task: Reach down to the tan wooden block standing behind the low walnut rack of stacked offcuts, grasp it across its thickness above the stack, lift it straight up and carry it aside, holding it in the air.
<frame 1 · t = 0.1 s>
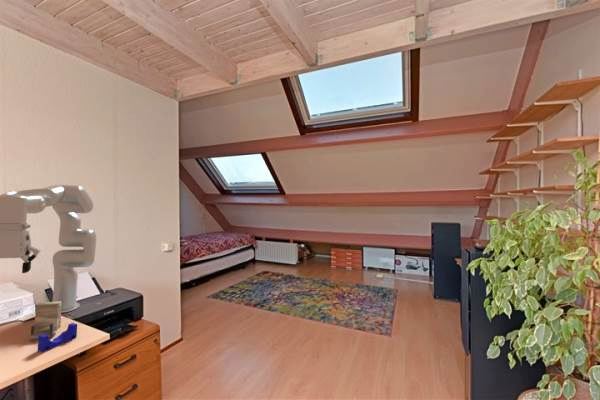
hand: (9, 272, 100), 31 cm above the table, tool pointing down, fingers open, 9 cm apart
blue cradle stand: (56, 344, 110), on the table
tan wooden block: (47, 329, 120), on the table
offcut rack: (42, 337, 113), on the table
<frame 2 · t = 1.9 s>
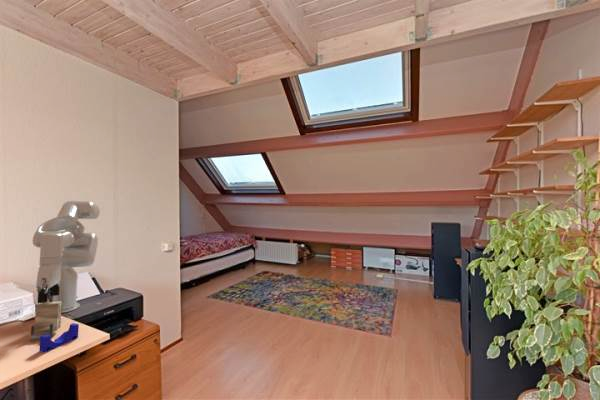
hand: (48, 298, 120), 14 cm above the table, tool pointing down, fingers open, 9 cm apart
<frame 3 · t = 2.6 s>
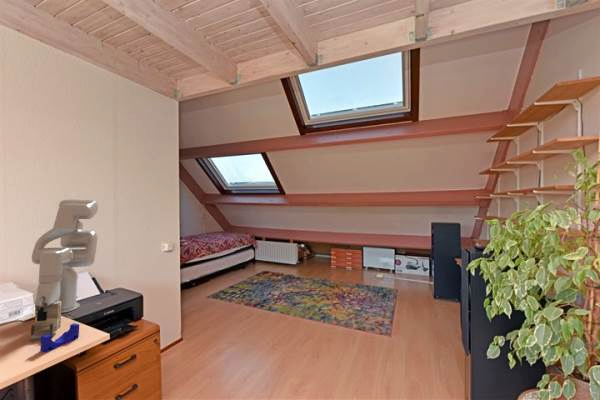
hand: (48, 316, 120), 6 cm above the table, tool pointing down, fingers open, 9 cm apart
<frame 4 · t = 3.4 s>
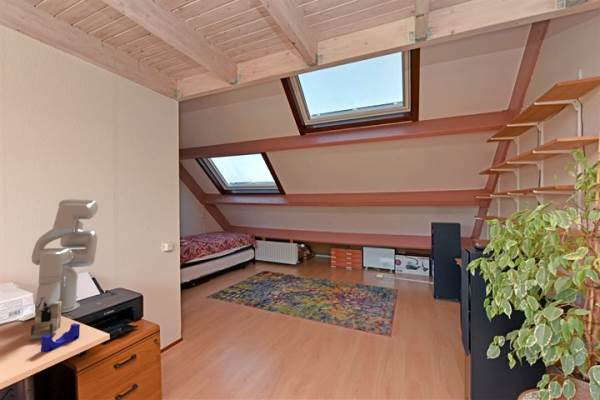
hand: (48, 319, 120), 5 cm above the table, tool pointing down, fingers closed on tan wooden block, 3 cm apart
tan wooden block: (47, 329, 120), on the table, touching gripper
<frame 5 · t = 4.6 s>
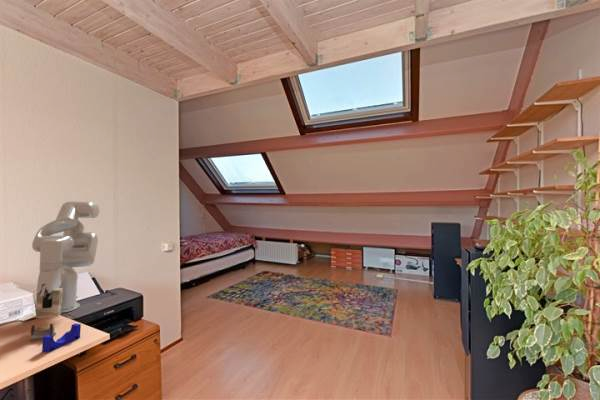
hand: (49, 305, 121), 11 cm above the table, tool pointing down, fingers closed on tan wooden block, 3 cm apart
tan wooden block: (48, 316, 121), point 6 cm above the table, touching gripper
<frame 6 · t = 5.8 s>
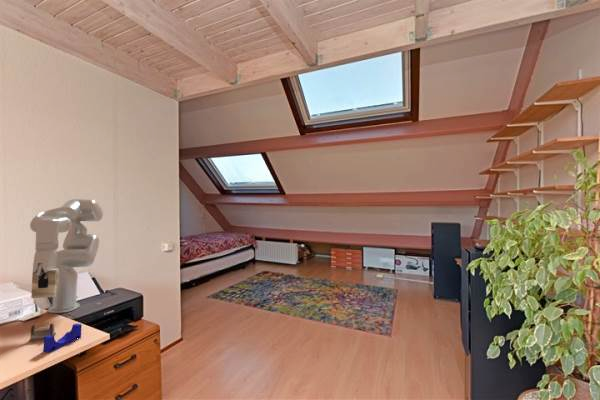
hand: (45, 286, 120), 20 cm above the table, tool pointing down, fingers closed on tan wooden block, 3 cm apart
tan wooden block: (44, 296, 120), point 15 cm above the table, touching gripper
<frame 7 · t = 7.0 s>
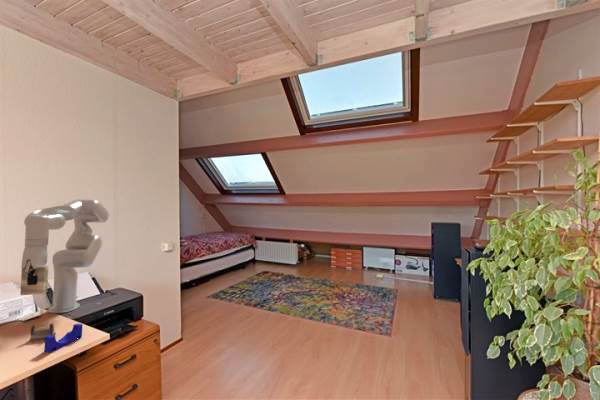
hand: (34, 283, 119), 21 cm above the table, tool pointing down, fingers closed on tan wooden block, 3 cm apart
tan wooden block: (34, 293, 119), point 16 cm above the table, touching gripper
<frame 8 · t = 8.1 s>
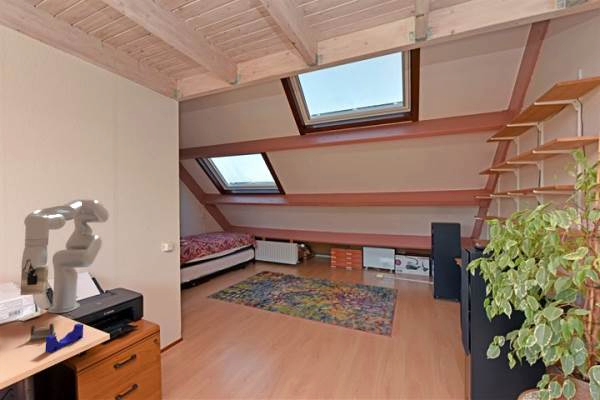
hand: (34, 283, 119), 21 cm above the table, tool pointing down, fingers closed on tan wooden block, 3 cm apart
tan wooden block: (34, 293, 119), point 16 cm above the table, touching gripper
at the end: the gripper is holding tan wooden block; tan wooden block inside the target area (2.0 cm from its centre), point 16.4 cm above the table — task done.
